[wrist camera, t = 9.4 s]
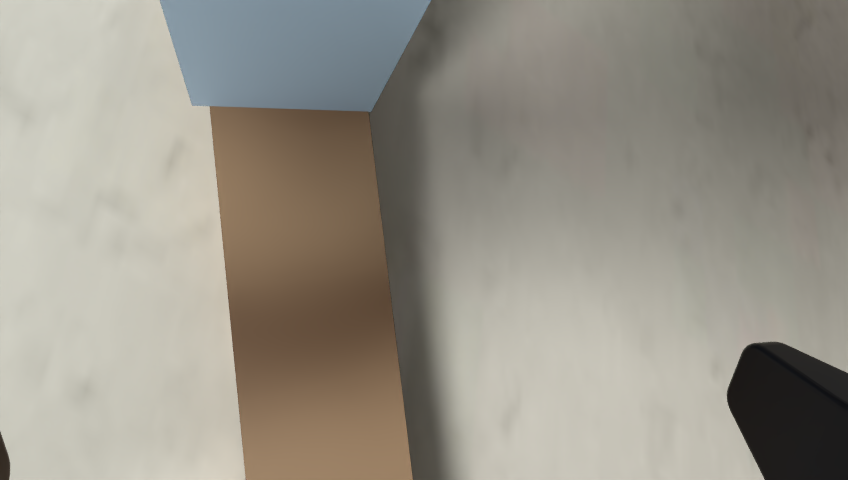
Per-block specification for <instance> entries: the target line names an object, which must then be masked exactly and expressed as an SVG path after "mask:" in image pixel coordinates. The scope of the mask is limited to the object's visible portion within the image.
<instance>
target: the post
mask: <svg viewBox="0 0 848 480" xmlns="http://www.w3.org/2000/svg"><path fill="white" fill-rule="evenodd" d="M430 2H431V0H160V3H161V6H162V9H163V13H164V16H165V19H166V22H167V26H168V29H169V32H170V35H171V39H172V42H173V45H174V48H175V52H176V55H177V58H178V61H179V64H180V68H181V71H182V74H183V77H184V81H185V84H186V87H187V90H188V94H189V97H190V100H191V103H192V106H221V107H250V108H279V109H309V110H338V111H367V112H371V111H372V109H373V107H374V106H375V104H376V102H377V100H378V98H379V96H380V94H381V93H382V91H383V89H384V87H385V85H386V83H387V81H388V80H389V78H390V76H391V74H392V72H393V70H394V68H395V67H396V65H397V63H398V61H399V59H400V57H401V55H402V54H403V52H404V50H405V48H406V46H407V44H408V42H409V41H410V39H411V37H412V35H413V33H414V31H415V29H416V28H417V26H418V24H419V22H420V20H421V18H422V16H423V15H424V13H425V11H426V9H427V7H428V5H429V3H430Z"/></svg>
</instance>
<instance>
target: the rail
mask: <svg viewBox="0 0 848 480" xmlns="http://www.w3.org/2000/svg"><path fill="white" fill-rule="evenodd" d="M210 115H211V125H212V135H213V146H214V156H215V166H216V177H217V187H218V197H219V208H220V218H221V228H222V239H223V249H224V259H225V269H226V280H227V290H228V300H229V311H230V321H231V331H232V342H233V352H234V362H235V373H236V383H237V393H238V404H239V414H240V424H241V435H242V445H243V455H244V465H245V476H246V480H413V477H412V469H411V461H410V452H409V444H408V436H407V427H406V419H405V411H404V402H403V394H402V386H401V378H400V369H399V361H398V353H397V344H396V336H395V328H394V319H393V311H392V303H391V294H390V286H389V278H388V269H387V261H386V253H385V244H384V236H383V228H382V220H381V211H380V203H379V195H378V186H377V178H376V170H375V161H374V153H373V145H372V136H371V128H370V120H369V112H367V111H338V110H309V109H279V108H250V107H221V106H210Z"/></svg>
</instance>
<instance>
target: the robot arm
mask: <svg viewBox="0 0 848 480" xmlns="http://www.w3.org/2000/svg"><path fill="white" fill-rule="evenodd" d="M727 402H728V405H729V408H730V411H731V413H732V415H733V417H734V419H735V421H736V423H737V425H738V427H739V429H740V431H741V433H742V435H743V437H744V439H745V441H746V443H747V445H748V447H749V449H750V451H751V453H752V455H753V457H754V459H755V461H756V463H757V465H758V467H759V469H760V471H761V473H762V475H763V477H764V479H765V480H848V373H846V372H844V371H842V370H840V369H838V368H835V367H833V366H831V365H829V364H827V363H825V362H822V361H820V360H818V359H816V358H814V357H812V356H809V355H807V354H805V353H803V352H801V351H799V350H797V349H794V348H792V347H790V346H788V345H786V344H783V343H780V342H762V343H753V344H750V345H748V346H747V347H746V348H745V349H744V350H743V352H742V354H741V356H740V359H739V361H738V364H737V367H736V369H735V372H734V374H733V377H732V379H731V382H730V384H729V387H728V390H727ZM9 477H10V460H9V456H8V453H7V450H6V447H5V444H4V441H3V438H2V435H1V432H0V480H9Z"/></svg>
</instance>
